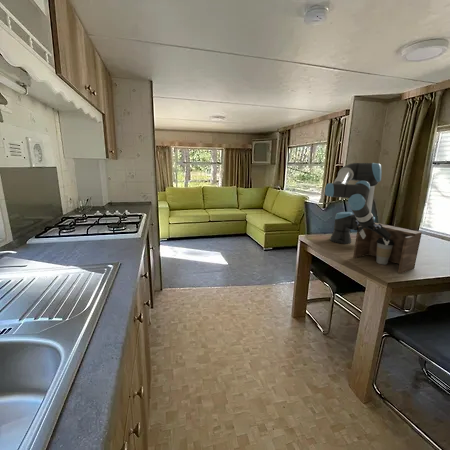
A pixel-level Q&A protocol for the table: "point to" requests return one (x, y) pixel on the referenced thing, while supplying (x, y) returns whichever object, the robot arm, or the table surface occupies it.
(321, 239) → the table surface
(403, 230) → the walnut box
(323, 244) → the table surface
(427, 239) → the table surface
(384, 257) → the coffee cup
